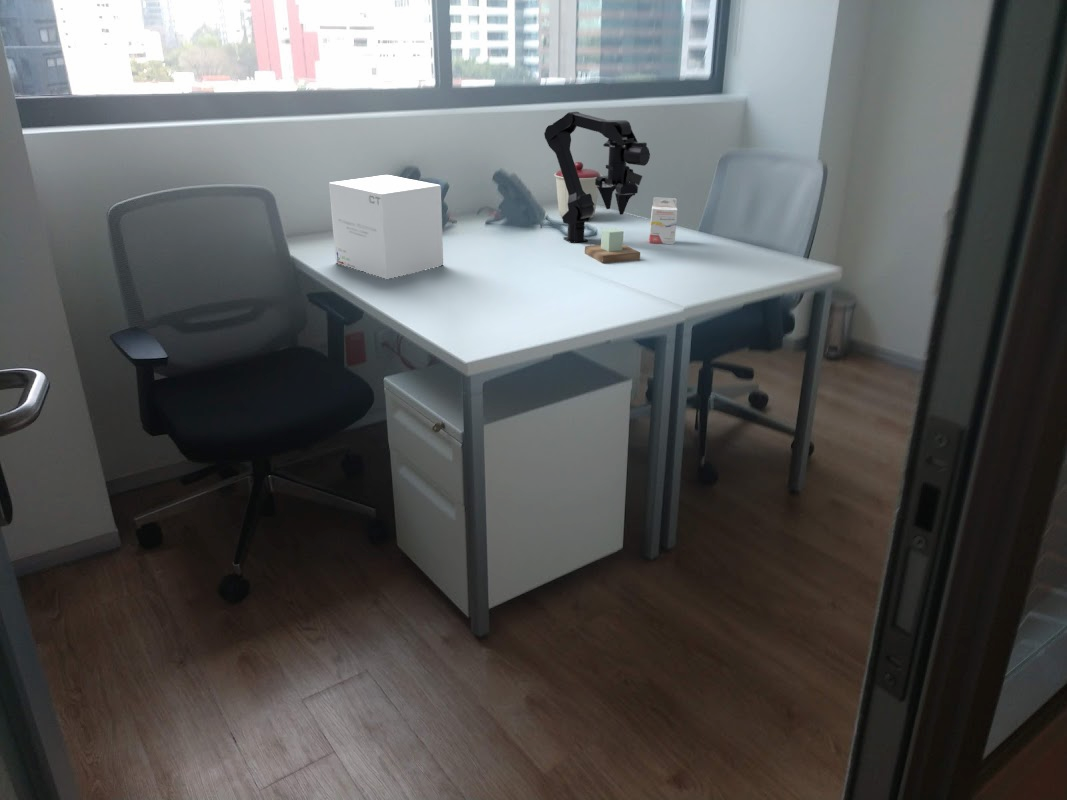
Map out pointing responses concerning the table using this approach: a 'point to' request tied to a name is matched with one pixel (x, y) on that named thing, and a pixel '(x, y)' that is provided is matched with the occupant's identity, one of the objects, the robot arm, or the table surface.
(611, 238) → the sage block
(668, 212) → the ink cartridge box
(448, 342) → the table surface
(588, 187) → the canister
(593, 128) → the robot arm
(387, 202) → the cube
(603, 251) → the walnut base
